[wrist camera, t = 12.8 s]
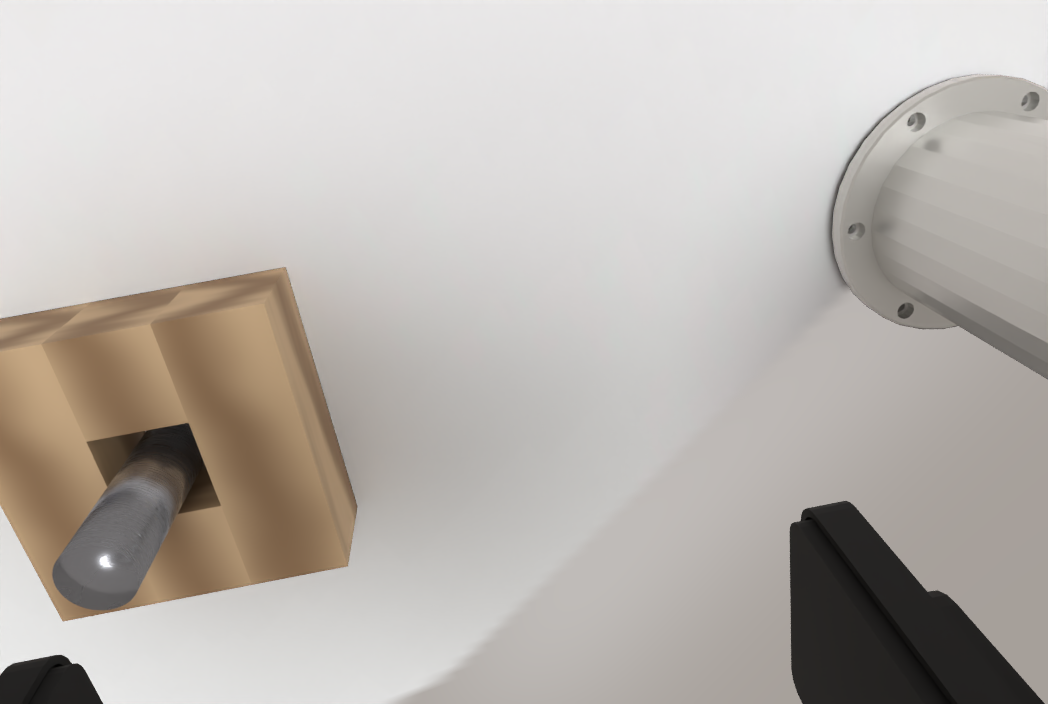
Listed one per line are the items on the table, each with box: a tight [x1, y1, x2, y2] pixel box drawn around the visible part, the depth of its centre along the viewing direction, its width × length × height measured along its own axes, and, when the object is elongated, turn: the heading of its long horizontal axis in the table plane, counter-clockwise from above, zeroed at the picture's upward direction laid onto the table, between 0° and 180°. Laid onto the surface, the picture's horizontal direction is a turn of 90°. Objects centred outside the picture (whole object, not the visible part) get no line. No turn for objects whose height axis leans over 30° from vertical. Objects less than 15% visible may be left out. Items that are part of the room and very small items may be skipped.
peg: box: [52, 423, 204, 610], centre depth 34 cm, size 3×3×12 cm
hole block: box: [0, 267, 357, 621], centre depth 37 cm, size 14×14×5 cm
